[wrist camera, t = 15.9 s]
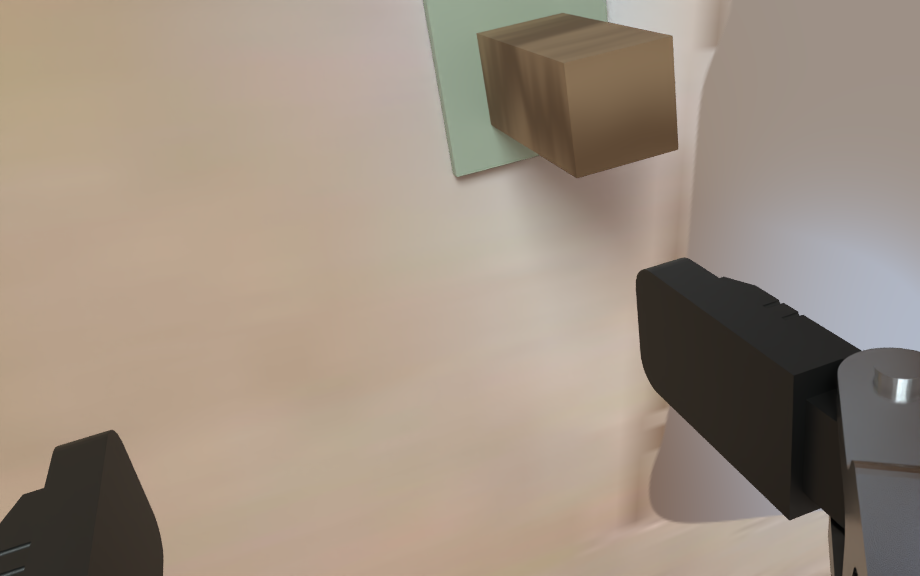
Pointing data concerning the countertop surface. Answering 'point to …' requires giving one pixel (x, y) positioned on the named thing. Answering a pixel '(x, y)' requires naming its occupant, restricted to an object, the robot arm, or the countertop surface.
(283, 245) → the countertop surface
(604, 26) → the walnut block
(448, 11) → the coaster
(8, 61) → the countertop surface
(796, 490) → the robot arm
